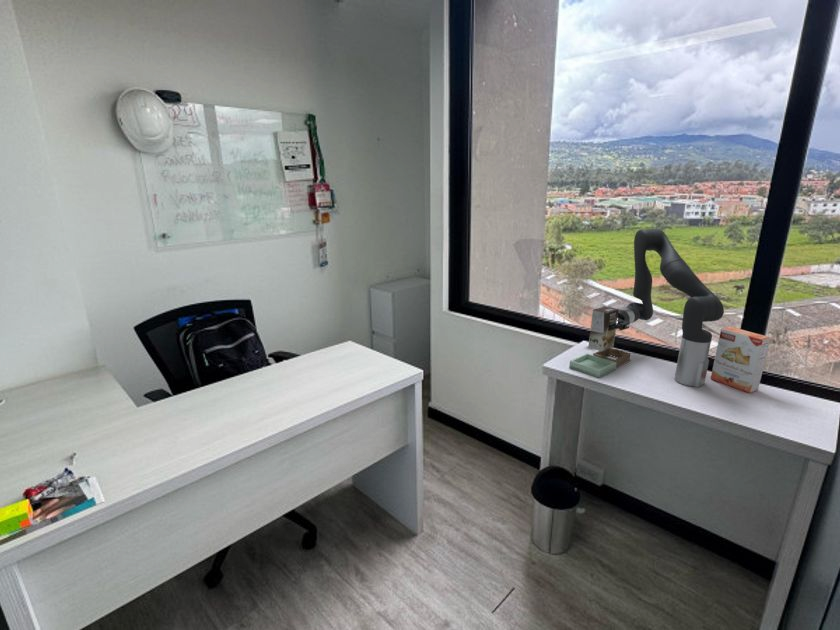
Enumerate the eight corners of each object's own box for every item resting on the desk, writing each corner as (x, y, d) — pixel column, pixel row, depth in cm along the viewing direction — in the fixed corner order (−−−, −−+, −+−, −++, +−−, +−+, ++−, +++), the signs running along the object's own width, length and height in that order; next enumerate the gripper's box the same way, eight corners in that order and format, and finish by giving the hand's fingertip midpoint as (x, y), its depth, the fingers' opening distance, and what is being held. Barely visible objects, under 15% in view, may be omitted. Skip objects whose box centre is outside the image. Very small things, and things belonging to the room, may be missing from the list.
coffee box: (602, 351, 175) (607, 313, 170) (587, 347, 180) (592, 309, 175) (614, 346, 181) (619, 308, 176) (599, 342, 185) (604, 305, 181)
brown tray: (629, 360, 188) (631, 353, 187) (615, 368, 180) (616, 360, 179) (607, 354, 195) (608, 346, 194) (592, 361, 187) (593, 353, 186)
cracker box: (709, 379, 170) (720, 327, 164) (718, 376, 173) (729, 325, 167) (749, 394, 158) (762, 339, 152) (758, 390, 161) (771, 336, 155)
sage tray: (615, 369, 179) (616, 362, 178) (599, 377, 171) (600, 370, 170) (586, 359, 188) (586, 353, 188) (569, 367, 180) (569, 360, 179)
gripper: (606, 306, 190) (585, 313, 180) (639, 313, 180) (619, 321, 169) (604, 322, 192) (583, 330, 182) (637, 330, 182) (616, 339, 172)
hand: (600, 326), depth 176 cm, fingers closed on coffee box, 6 cm apart
